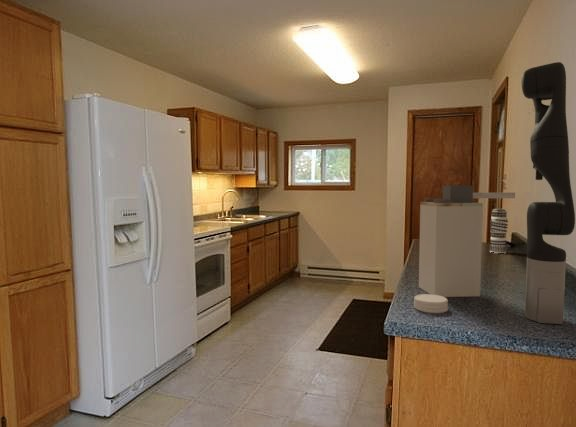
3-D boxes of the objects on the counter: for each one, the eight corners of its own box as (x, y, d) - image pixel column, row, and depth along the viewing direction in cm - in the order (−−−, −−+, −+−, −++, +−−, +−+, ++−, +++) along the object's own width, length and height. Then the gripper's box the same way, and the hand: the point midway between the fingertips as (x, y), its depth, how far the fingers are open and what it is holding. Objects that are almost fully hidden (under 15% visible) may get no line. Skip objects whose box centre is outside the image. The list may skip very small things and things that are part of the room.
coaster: (444, 316, 116) (444, 304, 115) (410, 310, 121) (410, 299, 121) (450, 307, 124) (450, 296, 124) (418, 302, 129) (418, 291, 129)
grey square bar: (507, 201, 144) (508, 185, 144) (518, 202, 138) (518, 185, 138) (442, 202, 143) (442, 185, 142) (450, 202, 137) (450, 185, 136)
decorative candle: (510, 252, 224) (512, 208, 222) (500, 254, 219) (502, 209, 218) (495, 250, 232) (496, 208, 230) (485, 251, 227) (486, 208, 226)
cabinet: (460, 286, 149) (462, 198, 147) (480, 296, 135) (482, 199, 133) (418, 286, 149) (420, 198, 146) (434, 297, 135) (436, 199, 132)
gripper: (526, 138, 152) (525, 180, 154) (542, 133, 139) (540, 179, 140) (548, 137, 151) (546, 180, 152) (566, 132, 137) (564, 179, 138)
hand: (543, 179), depth 146 cm, fingers open, 8 cm apart
